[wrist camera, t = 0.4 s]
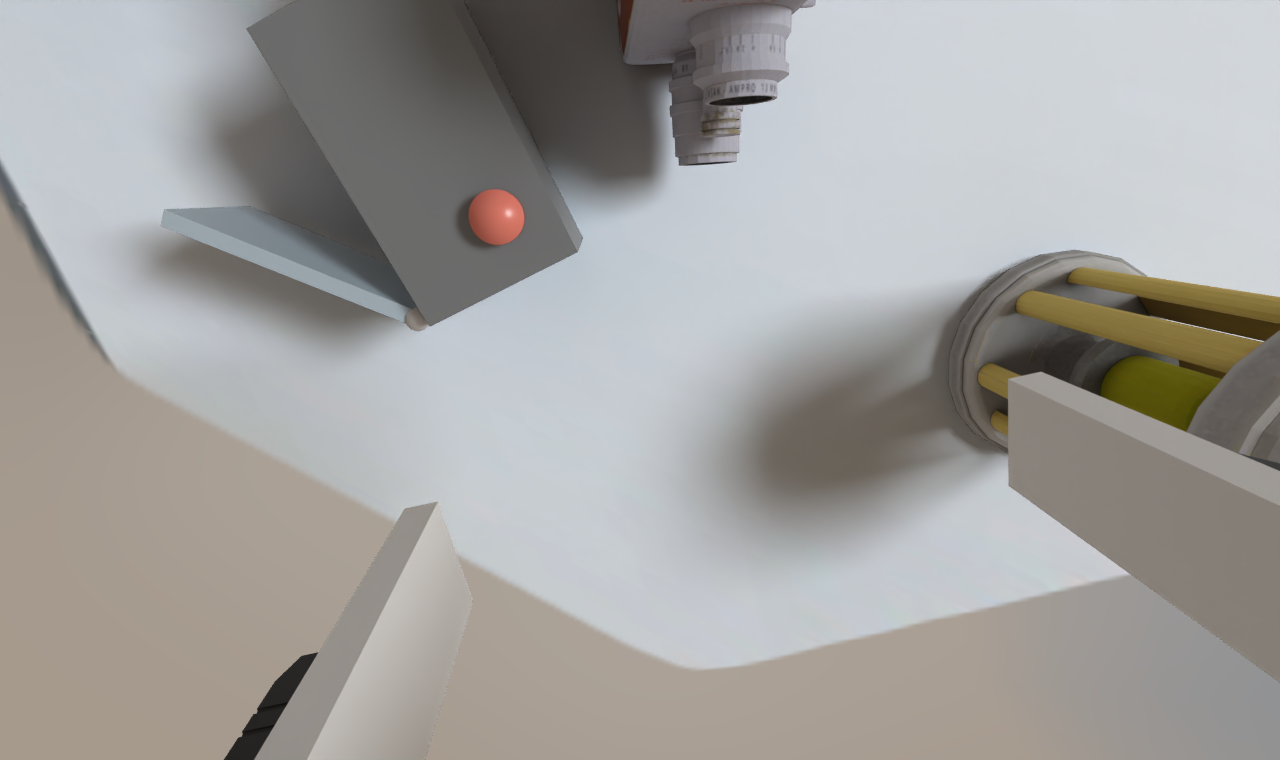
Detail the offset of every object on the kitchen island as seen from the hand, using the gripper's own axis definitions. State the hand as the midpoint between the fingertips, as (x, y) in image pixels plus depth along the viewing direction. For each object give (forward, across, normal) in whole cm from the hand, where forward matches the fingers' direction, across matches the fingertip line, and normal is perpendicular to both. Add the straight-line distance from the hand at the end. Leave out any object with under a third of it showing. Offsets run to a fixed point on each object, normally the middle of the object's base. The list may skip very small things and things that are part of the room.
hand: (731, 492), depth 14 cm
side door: (+25, -16, +6) cm, 30 cm away
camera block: (+26, -9, +11) cm, 30 cm away
